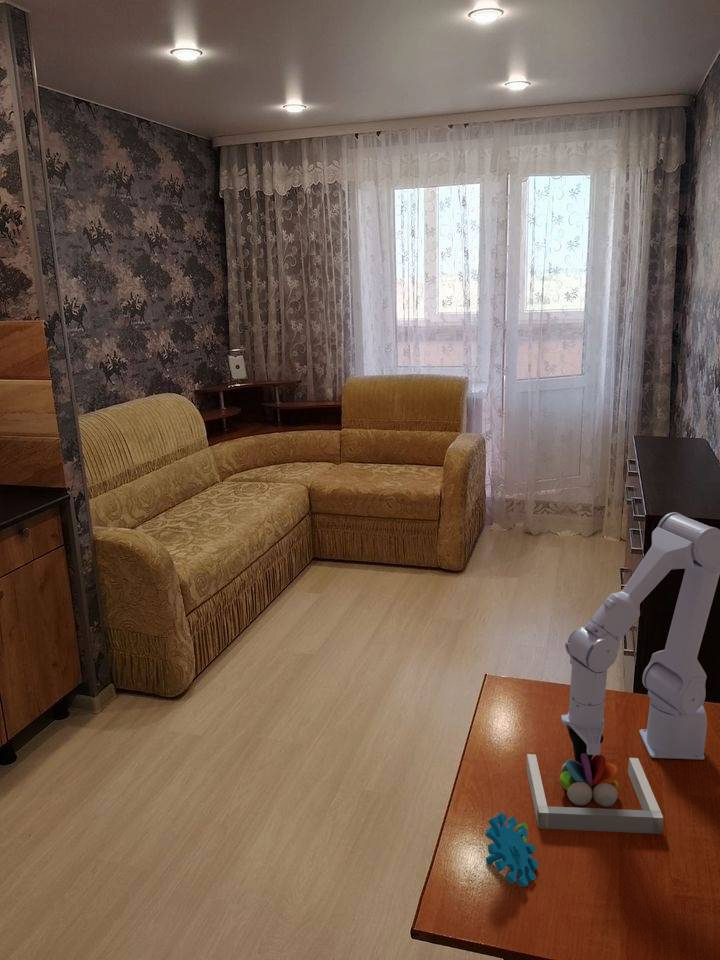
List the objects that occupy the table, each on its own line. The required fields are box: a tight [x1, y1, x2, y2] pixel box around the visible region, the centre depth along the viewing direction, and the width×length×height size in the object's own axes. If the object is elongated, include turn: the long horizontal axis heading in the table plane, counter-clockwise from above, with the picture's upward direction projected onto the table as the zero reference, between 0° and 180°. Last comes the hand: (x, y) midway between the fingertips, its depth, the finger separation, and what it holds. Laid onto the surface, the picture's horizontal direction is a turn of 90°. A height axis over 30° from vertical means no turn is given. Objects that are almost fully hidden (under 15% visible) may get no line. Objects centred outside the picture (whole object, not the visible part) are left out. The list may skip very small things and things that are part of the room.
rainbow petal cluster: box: [559, 753, 620, 807], centre depth 125 cm, size 8×10×7 cm
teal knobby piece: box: [484, 812, 539, 888], centre depth 111 cm, size 11×6×10 cm
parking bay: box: [525, 753, 664, 835], centre depth 124 cm, size 19×14×3 cm
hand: (582, 764), depth 131 cm, fingers closed
